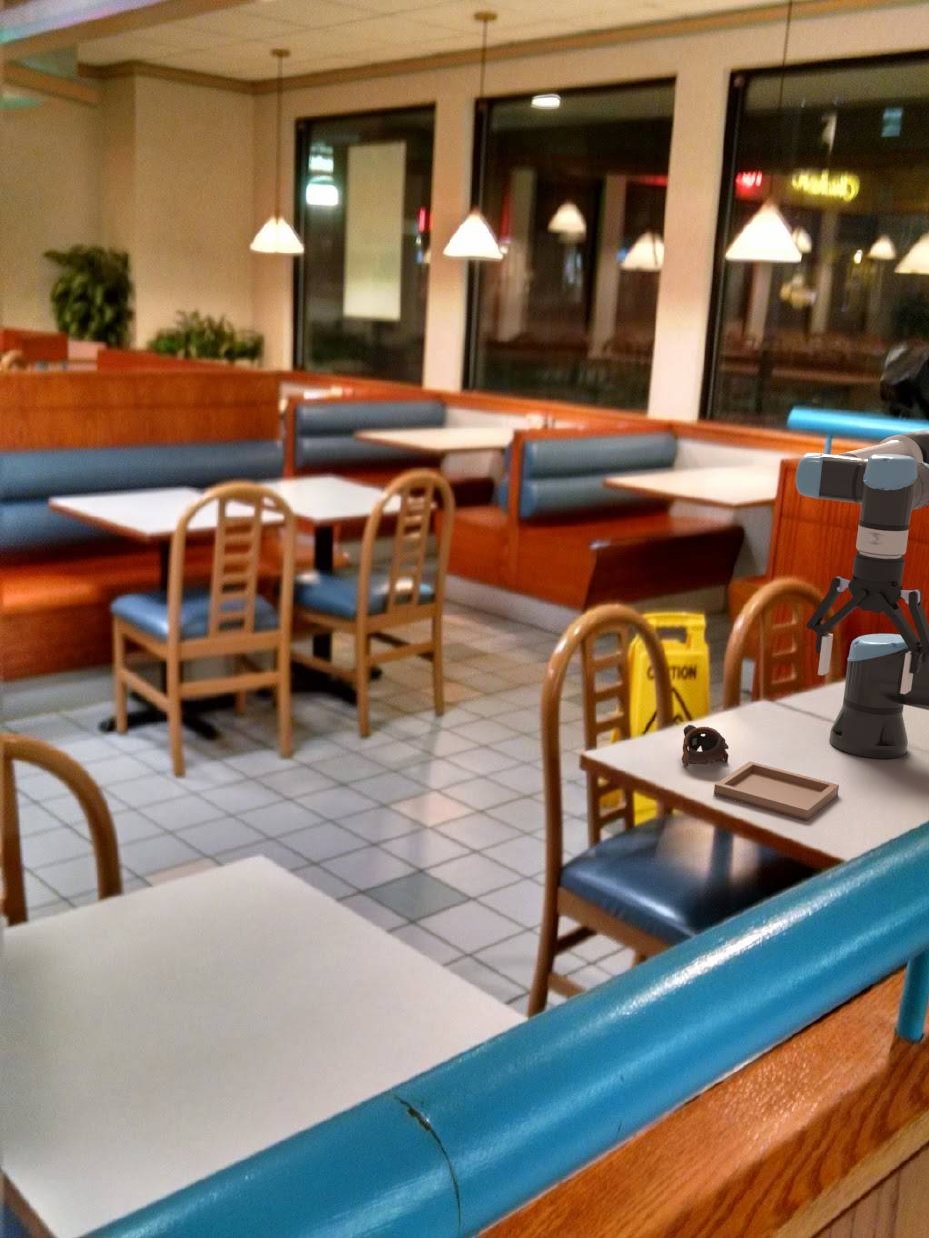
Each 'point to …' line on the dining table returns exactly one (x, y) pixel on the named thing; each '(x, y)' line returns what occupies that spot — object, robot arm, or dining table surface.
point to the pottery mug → (703, 746)
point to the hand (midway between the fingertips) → (863, 682)
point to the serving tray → (777, 790)
